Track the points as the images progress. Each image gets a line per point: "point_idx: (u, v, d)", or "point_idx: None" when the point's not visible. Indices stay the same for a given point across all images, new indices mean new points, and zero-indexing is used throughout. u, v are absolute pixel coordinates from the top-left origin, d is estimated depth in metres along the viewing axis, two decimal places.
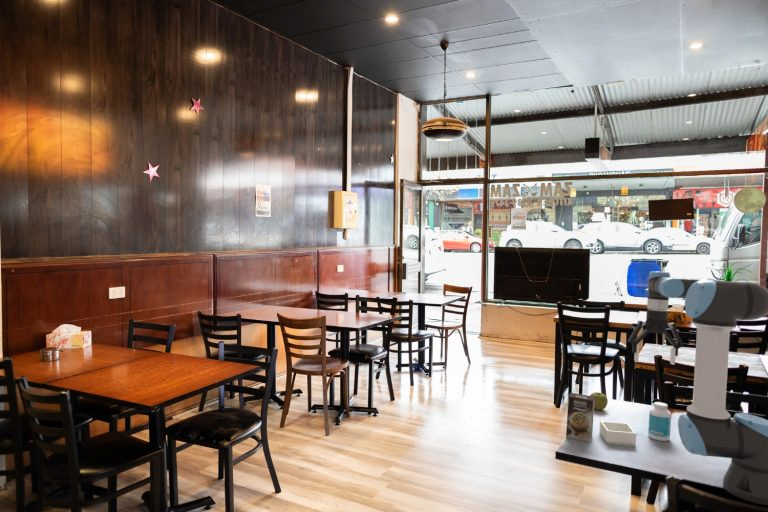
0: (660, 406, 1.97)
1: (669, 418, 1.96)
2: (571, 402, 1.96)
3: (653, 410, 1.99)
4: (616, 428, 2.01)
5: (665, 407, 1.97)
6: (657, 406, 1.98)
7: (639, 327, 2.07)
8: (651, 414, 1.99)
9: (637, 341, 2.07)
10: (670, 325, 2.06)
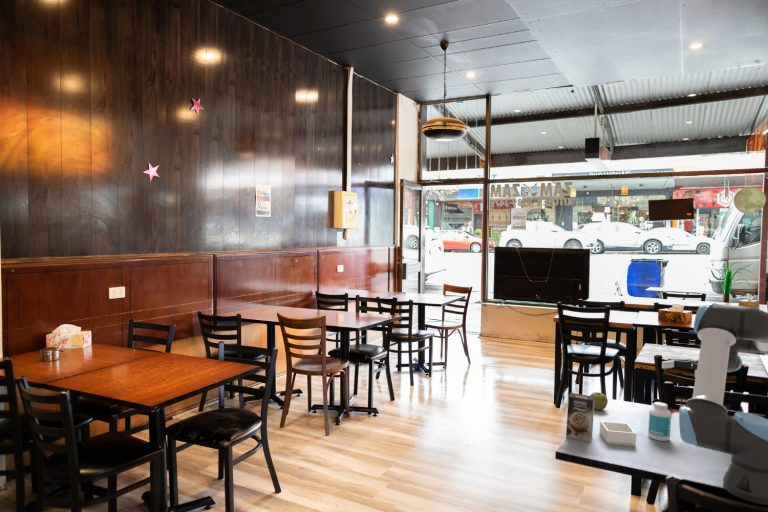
0: (660, 406, 1.97)
1: (669, 418, 1.96)
2: (571, 402, 1.96)
3: (653, 410, 1.99)
4: (616, 428, 2.01)
5: (665, 407, 1.97)
6: (657, 406, 1.98)
7: (684, 359, 2.15)
8: (651, 414, 1.99)
9: (675, 360, 2.13)
10: None
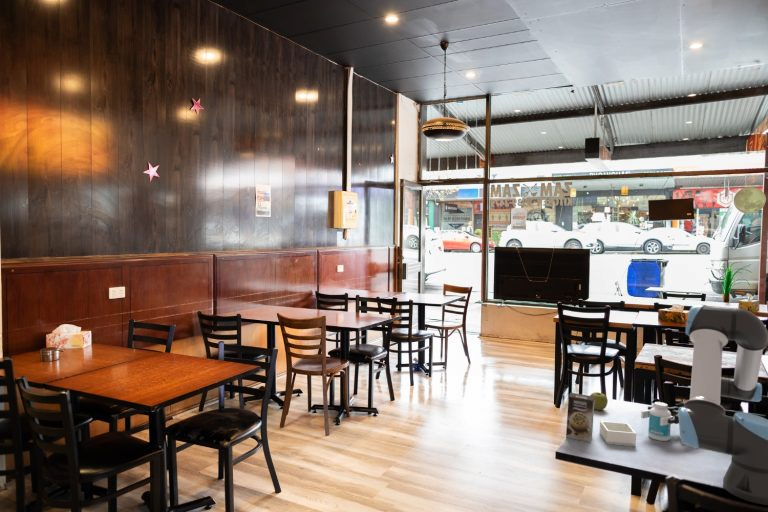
0: (660, 406, 1.97)
1: None
2: (571, 402, 1.96)
3: (653, 410, 1.99)
4: (616, 428, 2.01)
5: (665, 407, 1.97)
6: (657, 406, 1.98)
7: None
8: (651, 414, 1.99)
9: None
10: None
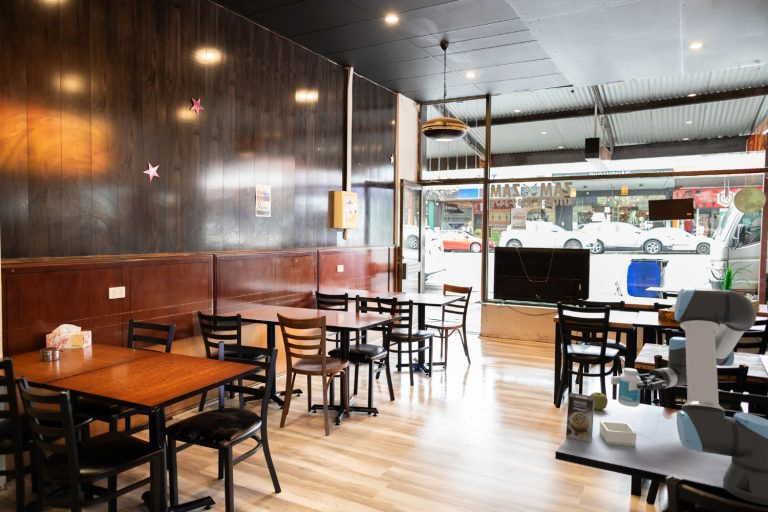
0: (629, 371, 1.95)
1: None
2: (571, 402, 1.96)
3: (623, 376, 1.97)
4: (616, 428, 2.01)
5: (635, 372, 1.95)
6: (627, 371, 1.96)
7: None
8: (621, 380, 1.97)
9: None
10: None
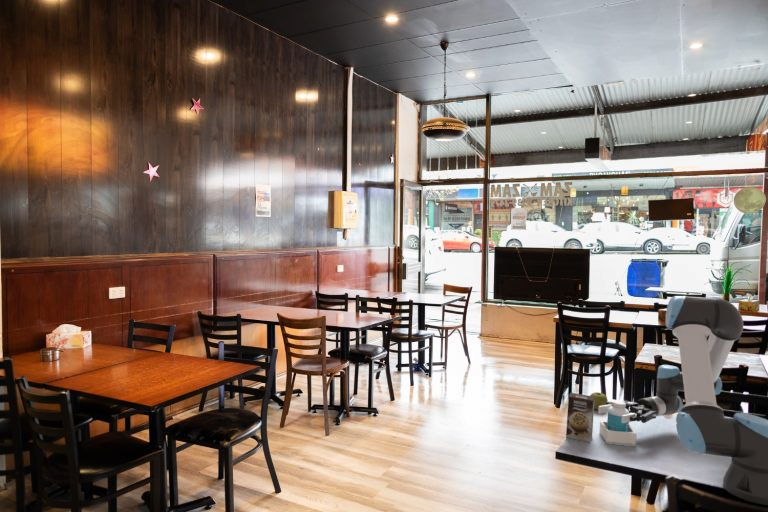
0: (618, 405, 1.94)
1: None
2: (571, 402, 1.96)
3: (611, 409, 1.96)
4: None
5: (623, 406, 1.94)
6: (615, 405, 1.95)
7: (622, 401, 2.06)
8: (609, 413, 1.96)
9: None
10: None
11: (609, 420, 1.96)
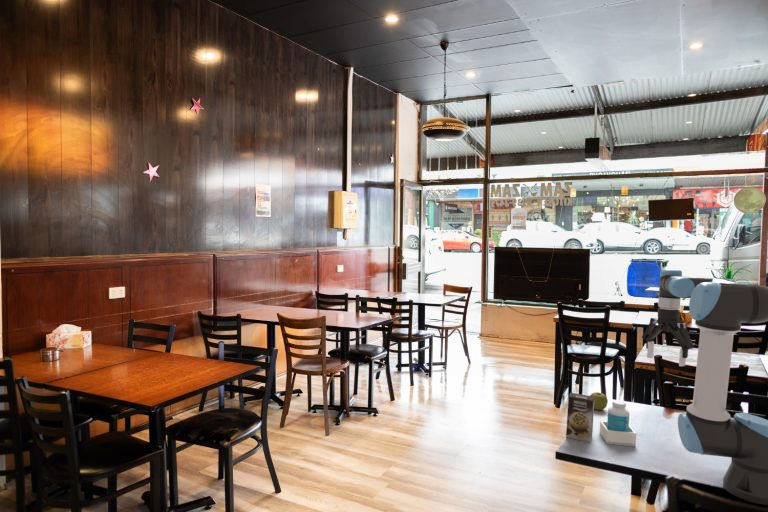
0: (618, 405, 1.94)
1: (627, 417, 1.93)
2: (571, 402, 1.96)
3: (611, 409, 1.96)
4: None
5: (623, 406, 1.94)
6: (615, 405, 1.95)
7: (650, 324, 2.09)
8: (609, 413, 1.96)
9: (648, 337, 2.09)
10: (679, 325, 1.99)
11: (609, 420, 1.96)
